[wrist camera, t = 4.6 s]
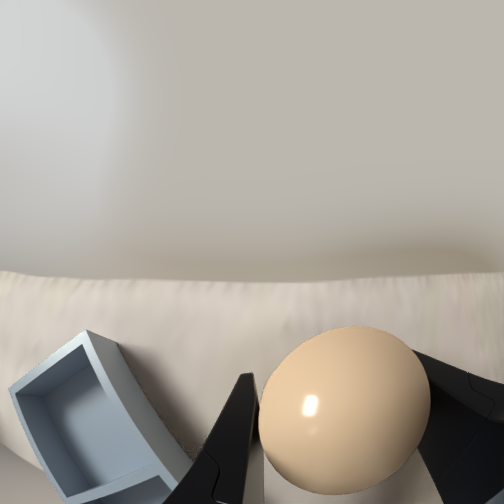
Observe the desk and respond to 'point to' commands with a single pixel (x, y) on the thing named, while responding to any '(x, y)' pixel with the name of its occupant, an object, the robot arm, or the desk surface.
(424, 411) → the pin
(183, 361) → the desk surface
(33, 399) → the blue-grey compartment tray
